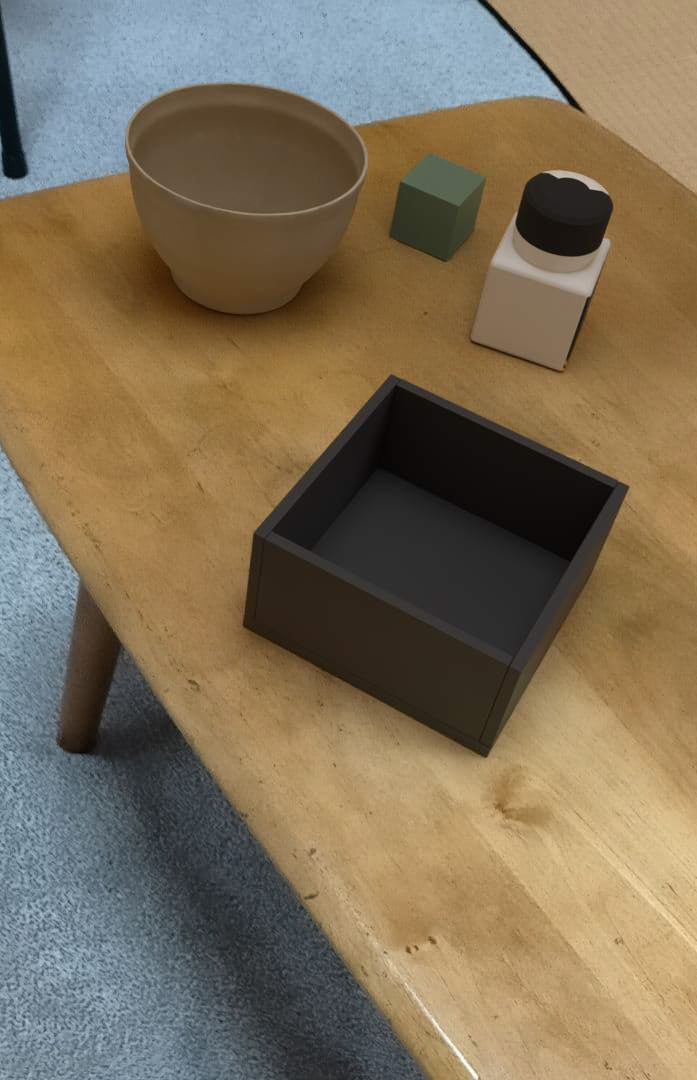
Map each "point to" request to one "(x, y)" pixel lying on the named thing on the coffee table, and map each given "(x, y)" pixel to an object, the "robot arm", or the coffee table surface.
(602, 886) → the coffee table surface
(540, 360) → the medicine bottle
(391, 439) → the basket
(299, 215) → the planter bowl
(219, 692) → the coffee table surface
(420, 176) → the box
